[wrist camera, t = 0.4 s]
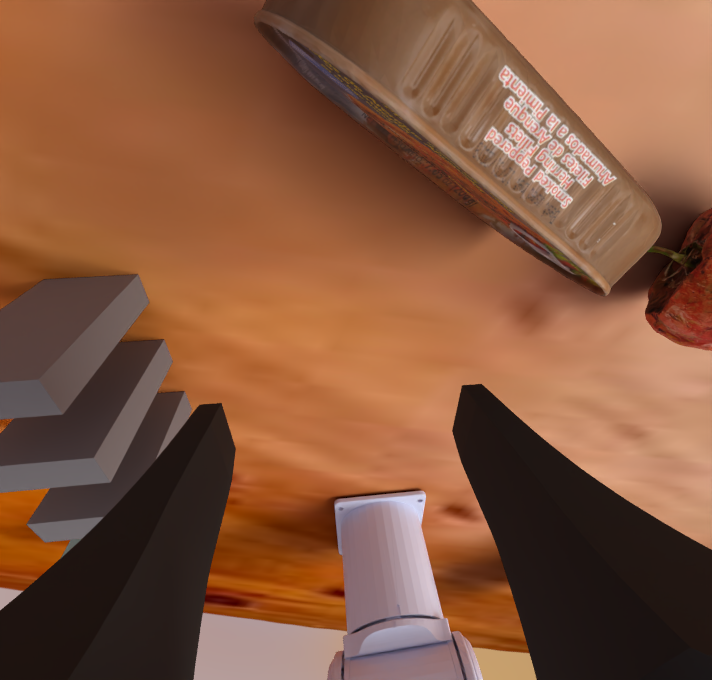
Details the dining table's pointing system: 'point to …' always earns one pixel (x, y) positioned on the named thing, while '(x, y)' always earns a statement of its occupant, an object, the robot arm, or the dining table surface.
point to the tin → (473, 125)
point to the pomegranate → (685, 289)
